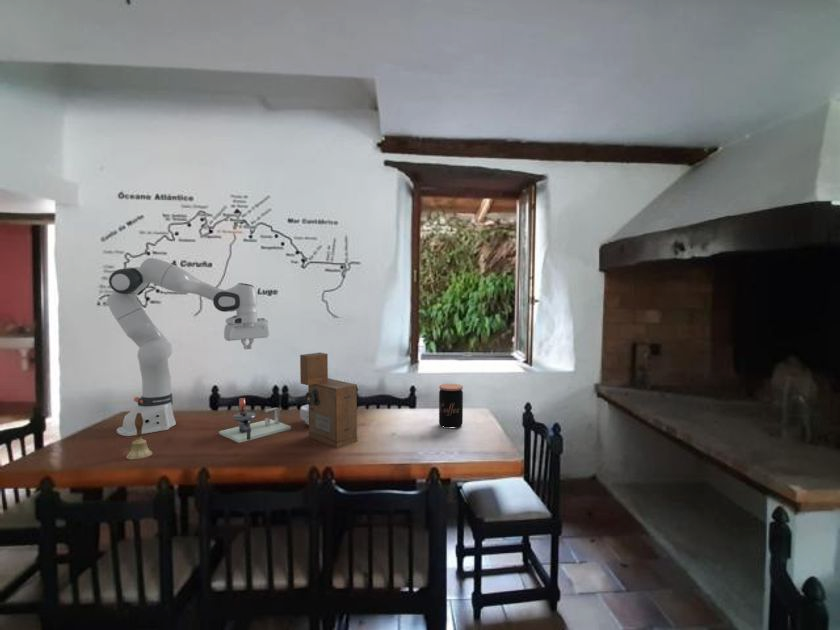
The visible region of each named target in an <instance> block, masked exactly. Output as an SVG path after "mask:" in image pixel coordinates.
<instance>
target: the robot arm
mask: <svg viewBox="0 0 840 630" xmlns="http://www.w3.org/2000/svg"><path fill="white" fill-rule="evenodd" d="M108 284H109V286H110V289H112V291H114V292H112V293H111V294H110V295H109V296H108V297H107V299H106V302H107V306H108V308H109V310H110V312H111V314H112V316H113V317H114V319H115V321H116V322H117V324H119V326H120V328H121V330H123V332H124V334H125V335H126V336H127V338H129V339H131V340H132V342H134V344H135V345H136V346H137V347H138V348H139V349H138V350H137V359H138V365H139V370H140V375H141V376H140V377H141V384H142V385H141V386H142V387H141V388H142V392H141V393H142V395H141V396H140V397H138V396H136V397H134V398H133V401H134V402H136V403H137V406H136V407H135V408H133V409H132V410H131V411H129V412H128V413H127V414H125V416H124V418H123V421H122V426H120V427H118V428H116V434H118V435H120V436H123V437H132V436H133V437H134V436H137V429H136V426H135V418H136V415H137V413H141V415H142V418H143V426H142V435H144V434H149V433H156V432H161V431H167V430H169V429H170V428H172V427H175V425H176V424H177V422H176V419H175V415H174V412H173V410H174V409H173V402H174V399H173V393H172V383H171V382H172V381H171V374H170V368H169V361H168V359H169V358H170V357H171V355H172V353H173V347H172V344H171V342H170V341H169V340H168V339H167V338H166V336H165V335H164V334H163V333H162V332H161V330H159V328H158V327H157V326H156V325H155V324H154V323H153V321H152V320H151V318H150V317H149V315H148V313H146V311H145V310H144V307H143V306H142V305H141V303H140V302H139V300H138V296H140V295H141V294H142V293H144V291H145V290H147V288H148V287H149V286H150V285H151V284H153V285H156V286H158V287H161V288H162V289H165V290H168V291H171V292H174V293H175V292H176V293H180V294H181V293H183V294H193V295H197V296H201V297H202V298H205V299H207V300H210V301H212V302H213V303H212V304H213V306H214V308H215V309H216V310H218V311H220V312H222V313H223V312H224V313H228V312H236V314H235V315H234V316H230V317H227V318H226V319H225V323H226V324H225V326H224V331H223V334H224V335H223V338H224V339H225V341H229V342H232V341H240V342H241V344H242V345H243V349H244V350H252V347H253V346H252V345H253V344H254V340H255V339H265V338H267V339H268V338H269V336H270V331H269V326H268V325H269V321H268V320H267V318H265V317H262V318H258V310H257V304H258V295H257V289H256V287H255V286H254V285H253V284H251V283H250V284H248V283H244V282H243V283H242V282H239V283H237V284H236V285H234V286H232V287H230V288H227V289H221V288H218V287H216V286H213V285H211V284H208V283H206V282H204V281H202V280H200V279H199V278H197V277H195V276H194V275H193V274H191V273H189V272H187V271H186V270H184V269H183V268H181V267H179V266H178V265H175V264H173V263H170V262H168V261H165V260H162V259H159V258H154V257H148V258H146V259H144V260H143V262H141V264H140V266H139V267H134V266H133V267H125V268H120V269H117V270H115V271H113V272H112V273H111V274H110V275H109V279H108ZM247 340H248V341H249V342H248V344H247V343H246V342H247Z"/></svg>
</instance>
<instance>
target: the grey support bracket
mask: <svg viewBox="0 0 840 630" xmlns="http://www.w3.org/2000/svg"><path fill="white" fill-rule="evenodd" d="M272 412H274V421H275V423H276V424H280V423H281V422H280V421H281V420H280V416H281V415H280V414H281V413H280V407H276V406H275V407H272V408H267V409H264V413H272ZM270 419H271V418H268V417H267V418H264V420H265V426H270Z"/></svg>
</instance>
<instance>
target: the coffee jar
mask: <svg viewBox="0 0 840 630" xmlns="http://www.w3.org/2000/svg"><path fill="white" fill-rule="evenodd" d="M438 388H439V391H438V393H439V394H438V422H439V425H440V427H442V426H444V427H459V426H461V427H462V425H463V422H464V421H463V417H464V416H463V415H464V414H463V411H464V409H463V407H464V405H463V404H464V401H463V400H464V395H463V394H464V392H463V388H464V386H463V385H461V384H457V383H443V384H439V387H438ZM444 427H443V428H444ZM459 428H460V427H459Z"/></svg>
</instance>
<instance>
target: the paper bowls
mask: <svg viewBox="0 0 840 630" xmlns="http://www.w3.org/2000/svg"><path fill="white" fill-rule="evenodd" d="M299 408H300V411H299V413H300V419H301V420H302V421H304V422H305V424H306V425H308V426H309V405H308V404H303V405H302V406H301V407H299Z"/></svg>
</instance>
